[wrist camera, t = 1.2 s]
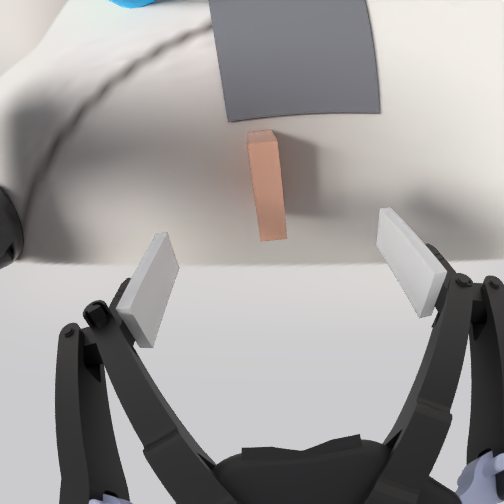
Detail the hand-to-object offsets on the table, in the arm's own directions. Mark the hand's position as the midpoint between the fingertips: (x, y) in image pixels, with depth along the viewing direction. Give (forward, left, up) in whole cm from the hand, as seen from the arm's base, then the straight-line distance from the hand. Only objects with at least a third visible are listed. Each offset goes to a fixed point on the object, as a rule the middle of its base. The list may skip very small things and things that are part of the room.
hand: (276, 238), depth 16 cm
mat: (+5, +17, -14) cm, 23 cm away
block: (0, 0, -15) cm, 15 cm away
